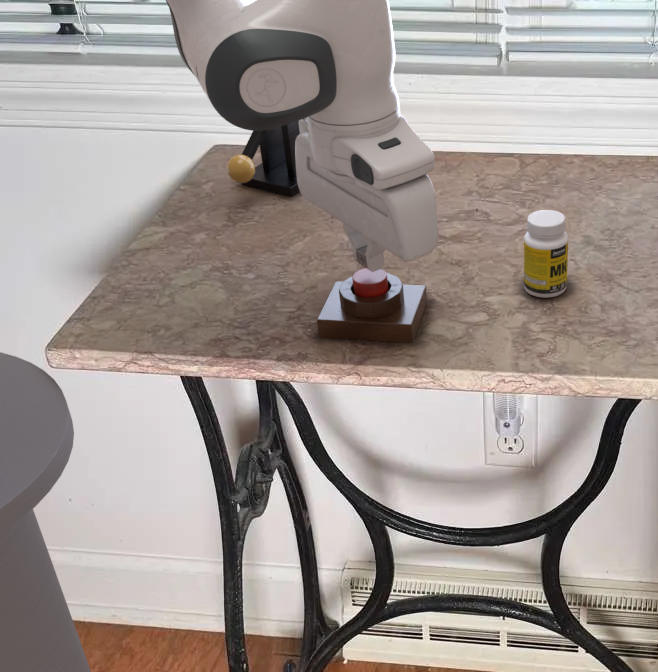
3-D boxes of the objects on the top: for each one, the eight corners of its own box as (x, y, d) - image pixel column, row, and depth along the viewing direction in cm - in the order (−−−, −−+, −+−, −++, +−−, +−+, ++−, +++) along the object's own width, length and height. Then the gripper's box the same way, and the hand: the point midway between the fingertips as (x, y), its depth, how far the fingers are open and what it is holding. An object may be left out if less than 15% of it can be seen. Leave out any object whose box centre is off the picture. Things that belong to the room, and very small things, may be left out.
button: (350, 298, 123) (348, 283, 121) (358, 281, 125) (356, 266, 124) (384, 300, 122) (383, 285, 121) (391, 282, 125) (390, 268, 124)
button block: (319, 337, 124) (314, 304, 121) (337, 298, 130) (333, 266, 127) (412, 342, 122) (410, 309, 120) (427, 303, 128) (425, 270, 126)
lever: (253, 190, 146) (239, 175, 143) (231, 185, 148) (217, 170, 145) (300, 93, 149) (287, 76, 146) (278, 89, 150) (265, 72, 147)
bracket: (291, 196, 150) (277, 97, 141) (242, 184, 153) (225, 87, 145) (337, 166, 156) (326, 69, 148) (288, 155, 159) (275, 60, 151)
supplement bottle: (554, 303, 127) (554, 232, 122) (516, 292, 129) (515, 222, 124) (575, 283, 130) (576, 213, 125) (537, 273, 132) (537, 203, 127)
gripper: (271, 114, 118) (290, 239, 127) (389, 180, 105) (401, 314, 114) (325, 97, 121) (340, 220, 130) (445, 159, 108) (453, 291, 117)
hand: (369, 265), depth 122 cm, fingers closed
